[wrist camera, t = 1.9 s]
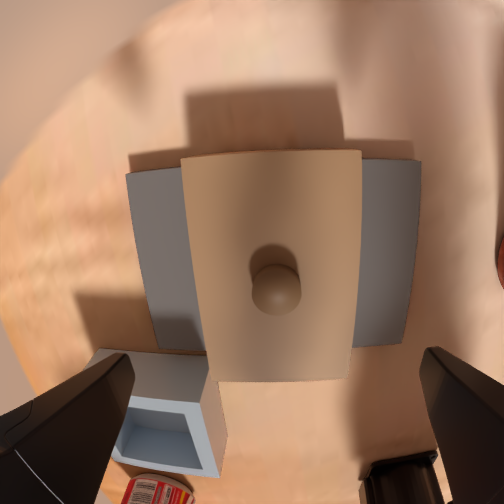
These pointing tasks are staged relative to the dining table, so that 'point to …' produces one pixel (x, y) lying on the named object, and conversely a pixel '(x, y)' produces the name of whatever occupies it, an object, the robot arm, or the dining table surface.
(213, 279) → the lid
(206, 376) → the dish
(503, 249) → the supplement bottle
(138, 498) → the soda can
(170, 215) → the mat
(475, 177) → the dining table surface
